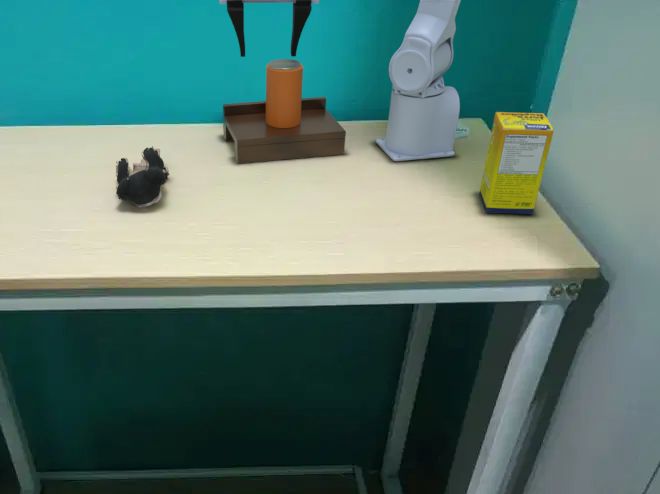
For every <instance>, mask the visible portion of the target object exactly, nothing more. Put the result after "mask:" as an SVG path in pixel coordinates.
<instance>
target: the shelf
mask: <svg viewBox="0 0 660 494" xmlns="http://www.w3.org/2000/svg"><path fill="white" fill-rule="evenodd" d="M222 126H223V127H222V128H223V130H222V131H223V132H222V133H223V138H224V140H225V142H232V141H234V159H235V161H236V163H237V164H250V163H260V162H261V163H262V162H271V161H272V162H273V161H282V160H283V161H284V160H295V159H307V158H308V159H309V158H319V157H330V156H340V155H344V154H345V144H346V134H347V132H346V129H344V127H343V126H342V125H341V124H340V123H339V122H338V121H337V120H336V118H335V117H334V116H333V115H332V114H331V113H330V112H329V110H327V98H326V97H325V96H318V97H316V96H314V97H302V103H301V123H300V124H299V125H298V126H296V127H292V128H275V127H271V126H269V125H267V124H266V100H259V101H247V102H245V101H244V102H233V103H222Z"/></svg>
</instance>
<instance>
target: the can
mask: <svg viewBox="0 0 660 494" xmlns="http://www.w3.org/2000/svg"><path fill="white" fill-rule="evenodd" d="M303 77H304V65H303V64H302V62H300V61H299V60H296V59H289V58H278V59H273V60H271V61H269V62H268V63H267V64H266V66H265V101H266V124H267V125H269V126H271V127H275V128H292V127H296V126H298V125H299V124H300V123H301V103H302V98H303V81H304V80H303V79H304V78H303Z"/></svg>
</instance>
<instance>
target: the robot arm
mask: <svg viewBox="0 0 660 494" xmlns="http://www.w3.org/2000/svg"><path fill="white" fill-rule="evenodd" d="M218 1H219V5H226V11H227V14H228V16H229V19H230V21H231V24H232V25H233V29H234V31H235V34H236V37H237V41H238V46H239V54H240V58H246V39H245V30H244V29H245V11H244V10H245V4H277V3H278V4H284V3H285V4H287V3H288V4H289V3H291V4H292V28H291V29H292V31H291V37H290V38H291V40H290V56H291V57H296V56H297V50H298V45H299V42H300V38H301V36H302V33H303V30H304V29H305V26H306V23H307V21H308V19H309V17H310V15H311V12H312V7H313V6H312V5H313V4H315V5H318V4H320V0H218ZM461 1H462V0H419V4H418V6H417V10H416V13H415V15H414V17H413V19H412V21H411V22H410V24H409V25H408V28H407V30H406V32H405V34H404V36H403V41H402V42H401V45H400V47H399V48H398V49H397V50H396V51H395V52H394V53H393V55H392V56H391V58H390V61H389V64H388V76H389V79H390V81H391V84H392V85H391V94H390V101H389V111H388V119H387V128H386V136H385V137H383V138H381V137H380V138H376V139H375V143H376V144H377V145H378V146H379V148H381V150H382V151H384V153H385V154H387V156H388V157H389V158H390V159H391V160H392V161H394V162H403V161H415V160H426V159H437V158H438V159H439V158H449V157H454V156H456V155H455V154H456V152H455V151H454V146H455V140H456V134H457V129H458V124H459V118H460V112H461V111H460V110H461V103H460V97H459V92H458V91H457V89H456V88H455V87H453V86H449V85H447V86H446V85H445V81H444V78H443V75H444V74H445V73H447V71H448V70H449V69H450V67H451V66H452V63H453V60H454V53H455V52H454V45H453V43H454V37H455V33H456V31H457V26H456V17H457V13H458V10H459V7H460V4H461Z"/></svg>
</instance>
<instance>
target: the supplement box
mask: <svg viewBox="0 0 660 494" xmlns="http://www.w3.org/2000/svg"><path fill="white" fill-rule="evenodd" d="M554 129H555V128H554V127H553V125H552V124H551V122H550V121H549V119H548V118H547V116H546V114H544V113H543V112H507V111H505V112H504V111H496V112H495V114H494V117H493V124H492V128H491V134H490V138H489V142H488V147H487V152H486V159H485V162H484V168H483V171H482V172H483V173H482V177H481V182H480V187H479V192H478V196H479V198H480V200H481V204H482V206H483V209H484V211H485V214H514V215H515V214H518V215H533V214H534V211H535V207H536V204H537V200H538V196H539V192H540V188H541V184H542V179H543V175H544V171H545V168H546V163H547V159H548V156H549V151H550V148H551V147H550V146H551V144H552V141H553V137H554V133H555V132H554V131H555V130H554Z"/></svg>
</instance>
